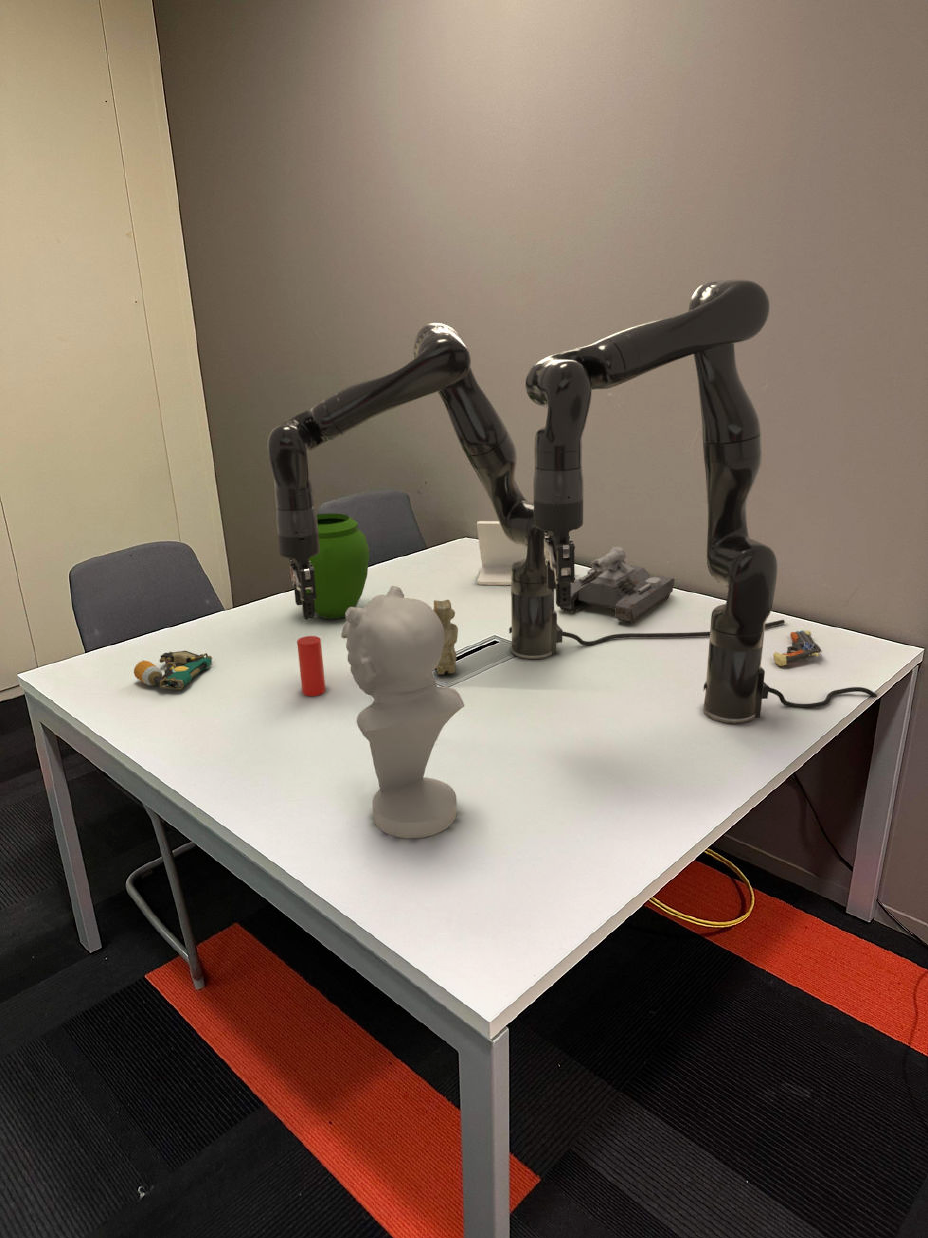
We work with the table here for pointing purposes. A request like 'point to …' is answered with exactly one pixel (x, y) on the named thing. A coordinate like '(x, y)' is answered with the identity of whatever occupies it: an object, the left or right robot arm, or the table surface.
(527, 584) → the left robot arm
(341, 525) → the vase
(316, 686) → the red cylinder
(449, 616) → the sculpture
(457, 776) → the table surface
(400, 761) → the bust sculpture
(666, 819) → the table surface
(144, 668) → the spray gun
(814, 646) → the toy gun
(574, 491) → the right robot arm
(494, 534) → the tablet stand
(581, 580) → the toy
